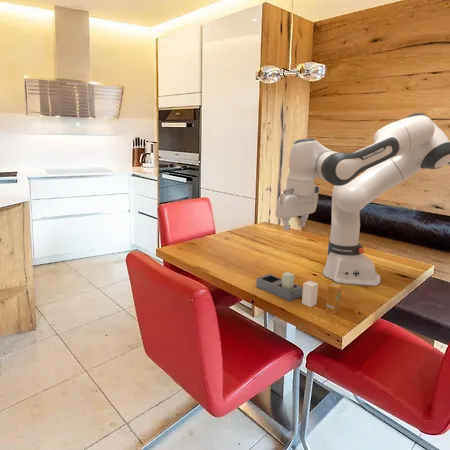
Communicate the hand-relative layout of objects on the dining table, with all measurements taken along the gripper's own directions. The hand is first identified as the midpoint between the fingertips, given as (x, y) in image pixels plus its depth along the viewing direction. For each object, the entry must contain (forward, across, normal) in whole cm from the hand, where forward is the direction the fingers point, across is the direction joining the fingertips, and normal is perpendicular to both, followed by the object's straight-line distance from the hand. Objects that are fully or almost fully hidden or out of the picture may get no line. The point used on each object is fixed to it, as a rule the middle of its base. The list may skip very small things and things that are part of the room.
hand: (294, 228), depth 130 cm
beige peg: (+25, +1, 0) cm, 25 cm away
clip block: (+25, 0, -9) cm, 27 cm away
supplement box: (+25, 0, -18) cm, 31 cm away
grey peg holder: (+26, +1, +4) cm, 26 cm away
